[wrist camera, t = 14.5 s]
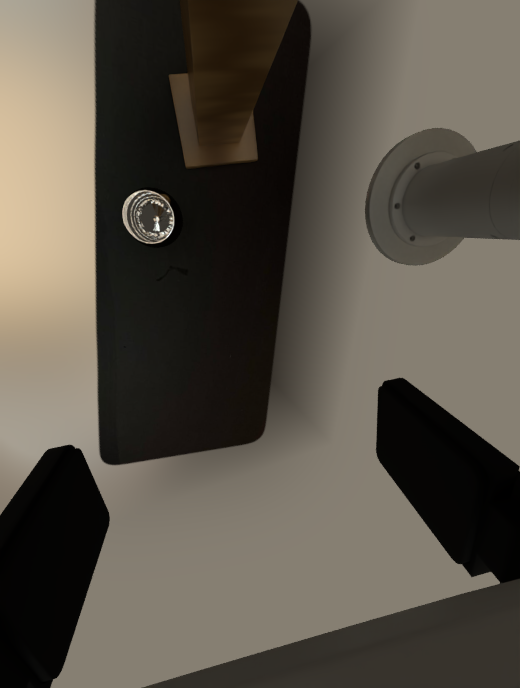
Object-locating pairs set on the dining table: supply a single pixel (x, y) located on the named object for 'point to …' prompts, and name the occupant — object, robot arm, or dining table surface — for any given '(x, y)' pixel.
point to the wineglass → (152, 217)
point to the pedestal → (225, 76)
